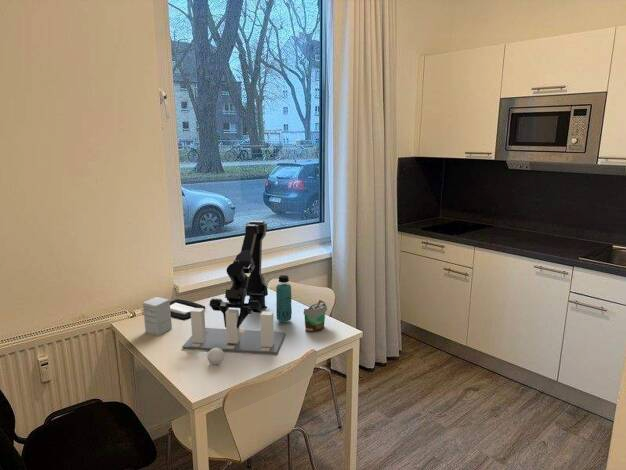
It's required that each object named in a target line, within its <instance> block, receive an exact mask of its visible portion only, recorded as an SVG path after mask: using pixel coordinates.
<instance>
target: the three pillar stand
mask: <svg viewBox="0 0 626 470" xmlns="http://www.w3.org/2000/svg"><path fill="white" fill-rule="evenodd" d="M259 314H260V315H259V317H260V318H259V320H260V330H250V329H249V330H248V329H239V330H240V340H239V342H238V344H237V343H227V333H226V328H217V327H213V328H212V327H206V318H205V317H206V316H205V309H204V308H193V309H192V310H191V318H190V322H191V336H190V337H189V338H188V339H187V341H186V342H185V343H184V344H183V345H182V350H190V351H191V350H193V351H205V352H206V351H208V352H209V351H210V350H211V349H212V348H220V349H221V350H222V351H223V352H225V353H238V354H241V353H242V354H253V355H254V354H256V355H259V354H260V355H269V356H270V355H271V356H273V355H274V356H277V355H278V353H279V352H280V351H279V350H280V349H281V346H282V344H283V341H284V339H285V337H286V331H285V332H284V331H275V329H274V311H262V310H261V313H259Z"/></svg>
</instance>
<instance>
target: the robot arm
mask: <svg viewBox="0 0 626 470" xmlns="http://www.w3.org/2000/svg"><path fill="white" fill-rule="evenodd" d="M244 228H245V229H244V231H245V233H244V237H243V241H242V245H241V249H240V252H239V253H238V254H237V255H236V256H235V259H234V260H233V262H232V263H231V264H229V265H228V266H227V268H226V269H225V270H226V274H227V276H228V277H229V279H230V281H231V282H232V285H231V286H230V288H229V289H225V293H224V294H225V296H224V298H225V299H226V301H224V300H222V298H211V299H210V300H209V304H208V305H209V306H210V309H212V310H213V311H214V312H221V313H222V316H223V322H224V327H225V328H226V313H225V312H226V311H227V310H228V309H239V318H238V322H237V328H239V329H240V327H241V325H242V323H243V322H244V321H245V320H246V318H247V317H248V316H249V315H252V313H253V314H254V313H256V314H257V313H258V314H261V313H262V310H263V309H264V310H265V309H267V308H268V307H267V306H266V297H267V296H268V294H269V292H268V287H267V284H266V283H265V282H266V280H265V277H264V275H263V274H262V252H263V251H262V250H263V249H262V248H263V240H264V238H265V237H266V234H267V231H268V223H266V222H265V220H249V222H247V223H245V227H244ZM247 274H249V276H248V275H247ZM246 297H249V298H248V302H247V303H246V302H245V300H246Z"/></svg>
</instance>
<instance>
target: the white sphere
mask: <svg viewBox="0 0 626 470" xmlns="http://www.w3.org/2000/svg"><path fill="white" fill-rule="evenodd" d="M206 357H207V362H208V363H210V364H211V365H214V366H215V365H220V364H221V363H222V362H223V361H224V358H225V353H224V352H223V351H222V350H221V349H220V348H212V349H211V350H210V351H208V352H207V355H206ZM203 358H204V356H203V357H202V358H201V359H203Z"/></svg>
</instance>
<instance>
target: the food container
mask: <svg viewBox="0 0 626 470" xmlns="http://www.w3.org/2000/svg"><path fill="white" fill-rule="evenodd" d="M327 306H328V305H327V304H326V302H325V301H324V300H321V299H319V300H318V302H317V303H315V304H313V305H312V304H311V306H309V308H304V309H303V316H304V326H305V332H306V333H320V332H322V331H323V330H324V329H325V323H326V322H325V320H326V312H327V311H328V307H327Z"/></svg>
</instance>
